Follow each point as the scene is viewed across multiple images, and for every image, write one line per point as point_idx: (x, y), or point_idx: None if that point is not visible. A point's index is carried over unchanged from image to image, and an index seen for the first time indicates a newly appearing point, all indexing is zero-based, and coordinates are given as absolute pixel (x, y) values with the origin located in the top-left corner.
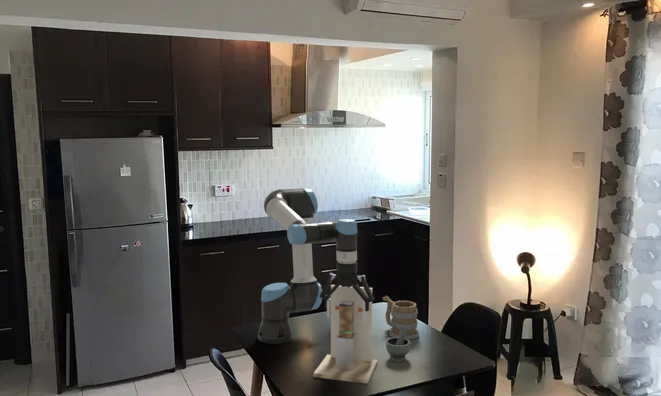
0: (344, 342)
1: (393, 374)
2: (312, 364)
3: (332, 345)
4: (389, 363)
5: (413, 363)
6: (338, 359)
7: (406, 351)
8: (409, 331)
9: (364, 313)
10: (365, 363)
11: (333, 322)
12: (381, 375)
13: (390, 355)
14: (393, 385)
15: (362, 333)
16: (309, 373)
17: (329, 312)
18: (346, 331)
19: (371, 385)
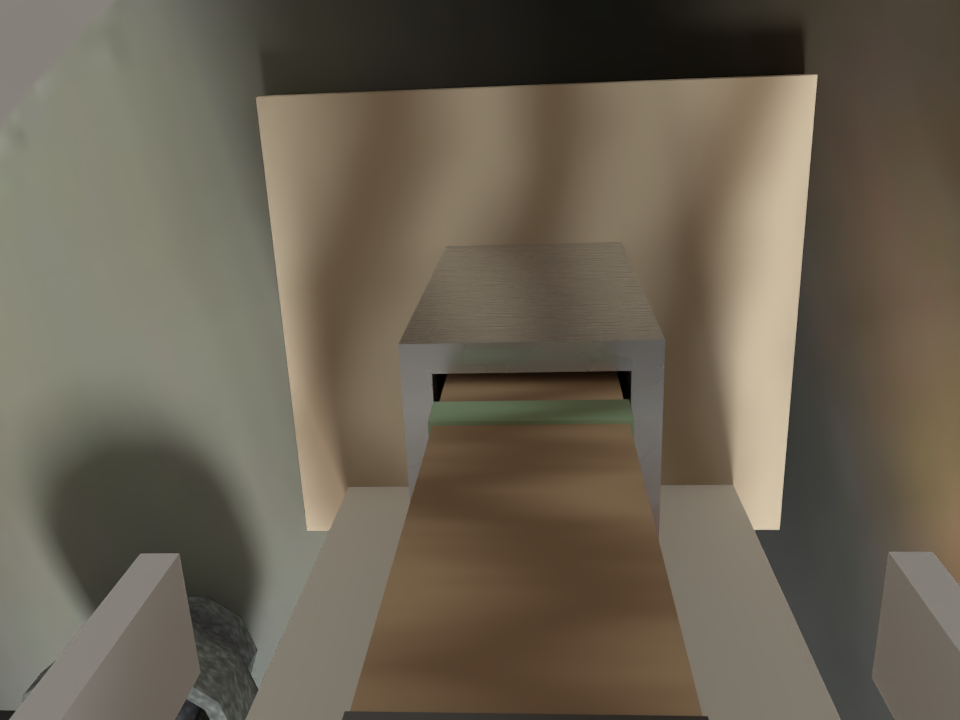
0: (526, 324)
1: (122, 351)
2: (880, 347)
3: (742, 546)
4: (224, 545)
5: (49, 592)
6: (596, 264)
7: None
8: None
9: (75, 647)
10: (383, 435)
11: None
12: (209, 303)
13: (240, 653)
14: (46, 136)
15: None
16: (865, 143)
17: (925, 646)
18: (503, 415)
19: (223, 72)
